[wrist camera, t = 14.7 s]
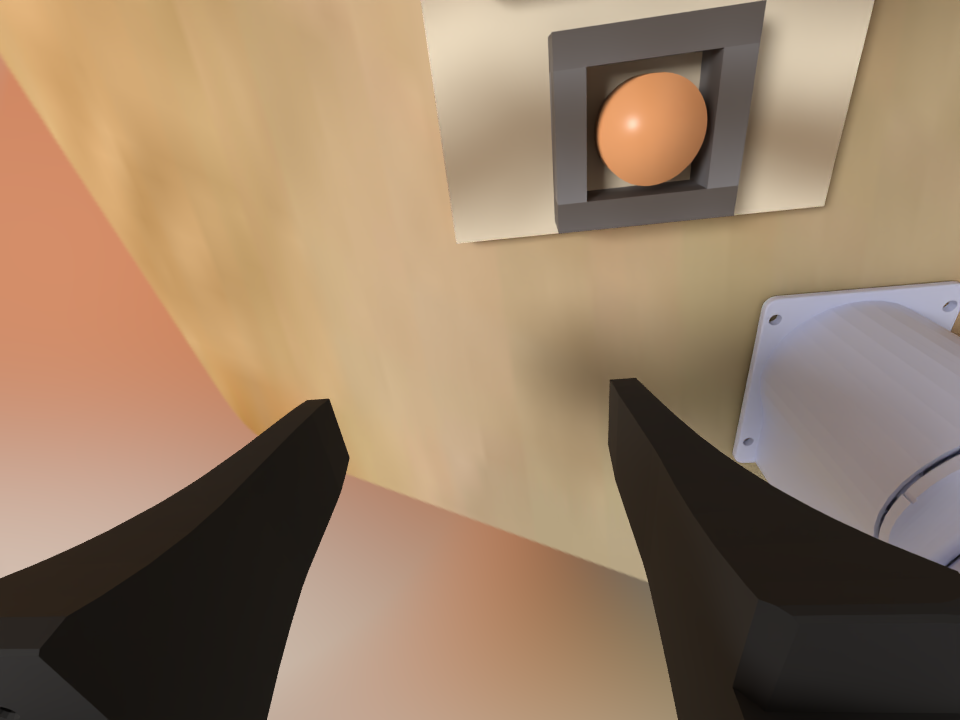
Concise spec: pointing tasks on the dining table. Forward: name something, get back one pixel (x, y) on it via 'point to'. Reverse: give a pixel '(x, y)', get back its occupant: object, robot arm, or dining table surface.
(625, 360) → the dining table surface
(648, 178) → the button
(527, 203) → the tray
